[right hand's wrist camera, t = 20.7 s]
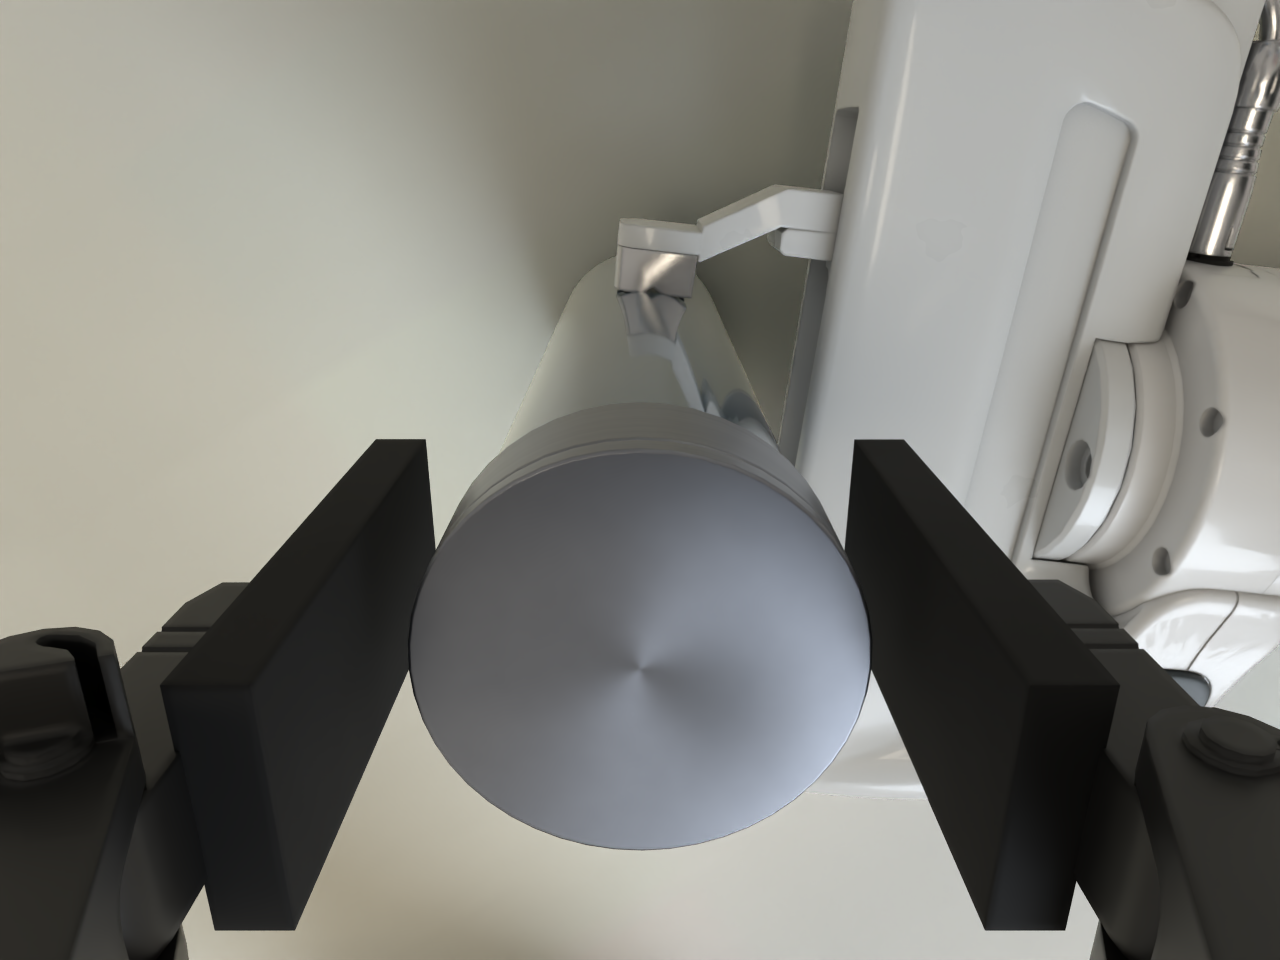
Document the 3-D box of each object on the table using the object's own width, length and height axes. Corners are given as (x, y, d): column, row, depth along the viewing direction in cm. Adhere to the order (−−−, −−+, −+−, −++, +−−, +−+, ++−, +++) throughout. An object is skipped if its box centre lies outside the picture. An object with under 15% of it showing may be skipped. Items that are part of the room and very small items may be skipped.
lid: (359, 528, 11) (311, 595, 10) (720, 321, 10) (734, 355, 9) (576, 811, 13) (566, 912, 11) (905, 654, 12) (948, 737, 10)
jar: (722, 400, 28) (842, 784, 12) (571, 412, 29) (470, 808, 12) (713, 245, 27) (841, 428, 10) (553, 258, 27) (406, 462, 10)
